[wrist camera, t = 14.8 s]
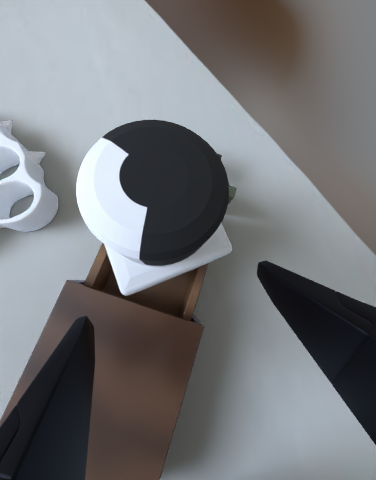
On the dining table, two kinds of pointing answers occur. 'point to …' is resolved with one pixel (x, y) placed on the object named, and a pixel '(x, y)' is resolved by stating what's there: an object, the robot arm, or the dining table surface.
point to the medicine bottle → (154, 201)
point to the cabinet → (124, 378)
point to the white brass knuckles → (23, 185)
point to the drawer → (158, 296)
